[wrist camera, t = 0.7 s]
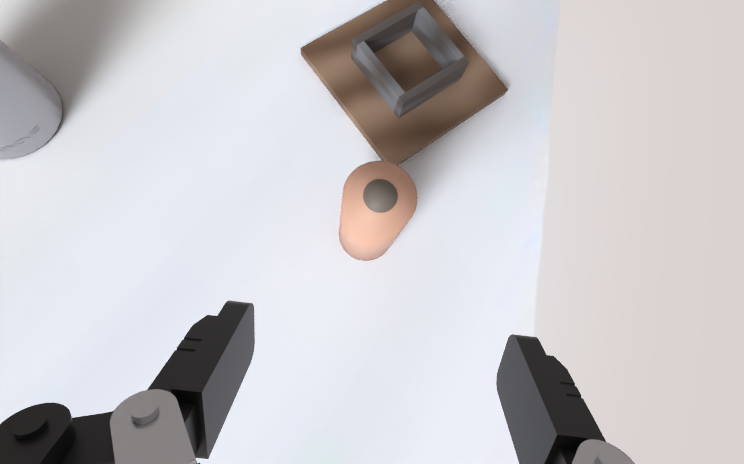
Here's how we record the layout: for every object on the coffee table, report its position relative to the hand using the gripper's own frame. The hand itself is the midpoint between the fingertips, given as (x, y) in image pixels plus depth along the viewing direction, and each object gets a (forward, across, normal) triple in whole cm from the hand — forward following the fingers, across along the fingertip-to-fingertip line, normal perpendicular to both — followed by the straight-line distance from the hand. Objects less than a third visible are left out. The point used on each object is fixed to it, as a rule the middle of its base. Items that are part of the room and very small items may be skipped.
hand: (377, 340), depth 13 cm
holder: (+37, -1, -6) cm, 38 cm away
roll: (+26, +1, +9) cm, 27 cm away
